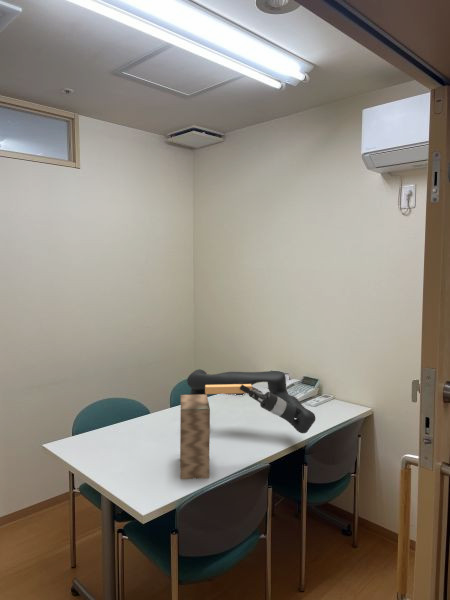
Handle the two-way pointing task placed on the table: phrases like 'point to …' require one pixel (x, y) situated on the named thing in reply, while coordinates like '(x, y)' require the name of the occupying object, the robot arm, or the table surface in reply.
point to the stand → (194, 436)
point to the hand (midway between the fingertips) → (240, 385)
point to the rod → (225, 388)
